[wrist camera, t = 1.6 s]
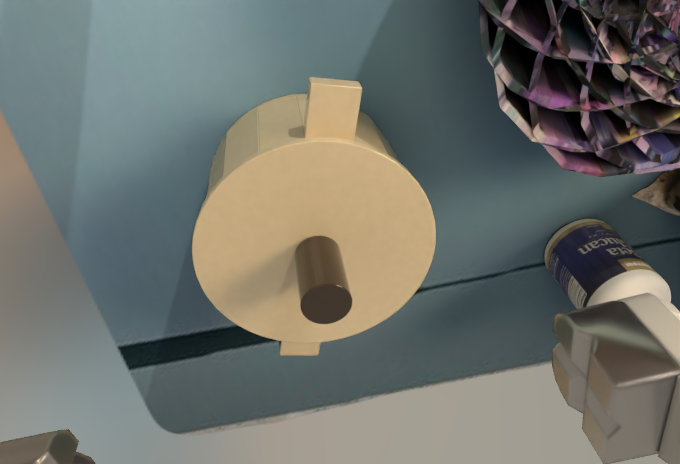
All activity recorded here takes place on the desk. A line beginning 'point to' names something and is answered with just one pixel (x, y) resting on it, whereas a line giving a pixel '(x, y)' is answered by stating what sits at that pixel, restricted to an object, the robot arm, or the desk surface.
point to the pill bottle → (601, 266)
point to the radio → (663, 192)
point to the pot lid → (313, 240)
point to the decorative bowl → (590, 79)
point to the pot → (299, 136)
